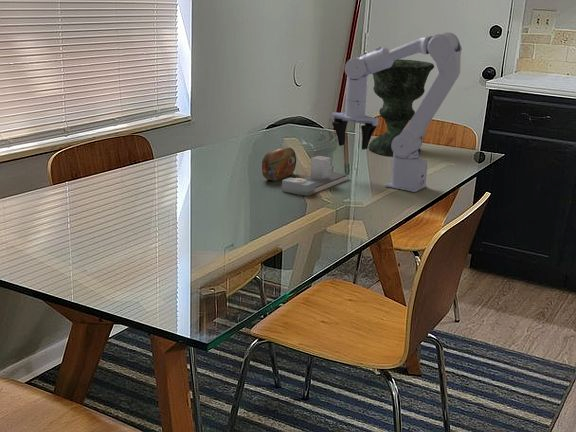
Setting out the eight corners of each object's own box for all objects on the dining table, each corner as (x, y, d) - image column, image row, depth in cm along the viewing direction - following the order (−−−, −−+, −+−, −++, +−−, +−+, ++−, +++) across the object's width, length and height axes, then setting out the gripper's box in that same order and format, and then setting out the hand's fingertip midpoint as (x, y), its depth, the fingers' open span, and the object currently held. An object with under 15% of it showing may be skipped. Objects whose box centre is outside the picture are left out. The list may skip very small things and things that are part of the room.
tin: (268, 183, 212) (269, 154, 209) (259, 181, 213) (260, 153, 211) (296, 173, 224) (297, 145, 221) (287, 171, 225) (288, 144, 223)
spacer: (329, 178, 213) (330, 157, 211) (322, 181, 210) (323, 160, 208) (317, 175, 215) (318, 155, 213) (310, 178, 212) (311, 158, 210)
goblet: (350, 151, 255) (355, 61, 246) (381, 140, 273) (387, 57, 263) (408, 161, 243) (416, 68, 234) (437, 150, 261) (445, 63, 252)
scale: (348, 179, 219) (349, 167, 218) (306, 196, 200) (306, 183, 199) (325, 174, 223) (325, 163, 222) (281, 191, 204) (281, 178, 203)
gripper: (326, 99, 213) (324, 145, 218) (371, 105, 206) (368, 153, 210) (339, 96, 219) (336, 141, 223) (383, 102, 211) (380, 149, 216)
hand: (352, 147), depth 217 cm, fingers open, 7 cm apart
